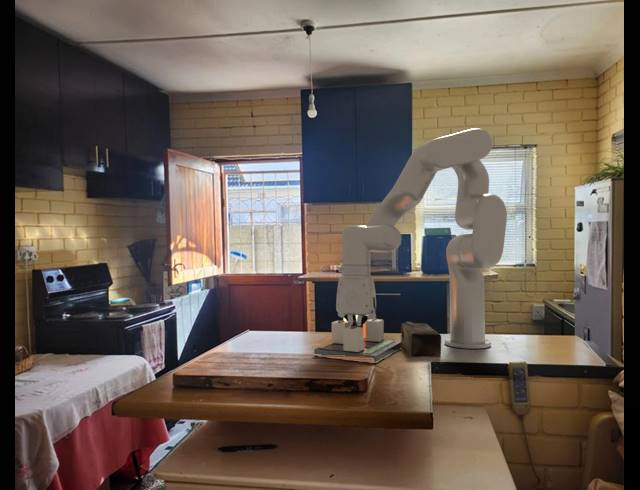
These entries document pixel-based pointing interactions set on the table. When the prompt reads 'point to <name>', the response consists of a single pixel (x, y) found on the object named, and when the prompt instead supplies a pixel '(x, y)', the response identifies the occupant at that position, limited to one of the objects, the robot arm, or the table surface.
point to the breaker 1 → (353, 338)
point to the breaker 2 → (374, 330)
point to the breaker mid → (338, 331)
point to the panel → (370, 350)
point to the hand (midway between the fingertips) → (356, 339)
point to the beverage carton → (421, 340)
